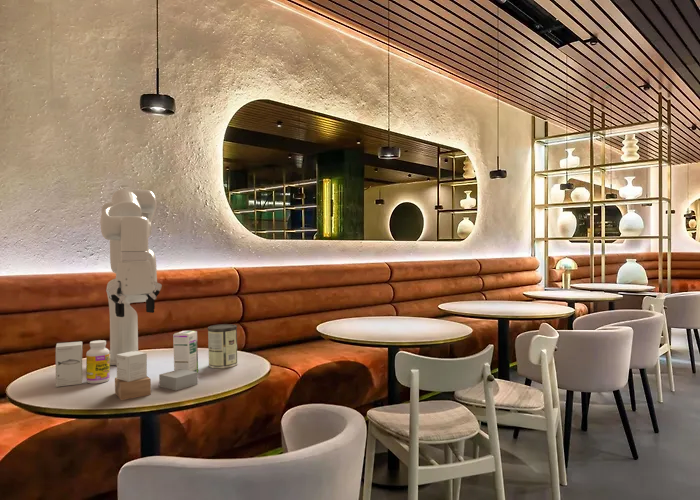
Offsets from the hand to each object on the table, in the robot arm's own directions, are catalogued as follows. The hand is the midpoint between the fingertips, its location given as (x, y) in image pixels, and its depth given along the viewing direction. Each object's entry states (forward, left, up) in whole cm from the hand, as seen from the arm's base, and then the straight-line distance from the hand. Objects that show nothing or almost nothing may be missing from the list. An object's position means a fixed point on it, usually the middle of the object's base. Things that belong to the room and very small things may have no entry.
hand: (135, 314), depth 146 cm
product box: (+2, -3, -19) cm, 19 cm away
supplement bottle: (-20, -1, -23) cm, 31 cm away
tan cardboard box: (+2, -3, -23) cm, 24 cm away
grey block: (+6, +10, -23) cm, 26 cm away
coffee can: (-2, +35, -23) cm, 42 cm away
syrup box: (-2, +19, -23) cm, 30 cm away
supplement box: (-26, -7, -23) cm, 35 cm away
